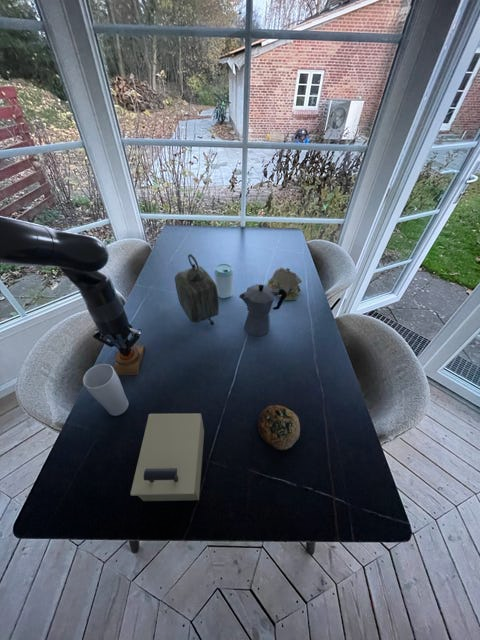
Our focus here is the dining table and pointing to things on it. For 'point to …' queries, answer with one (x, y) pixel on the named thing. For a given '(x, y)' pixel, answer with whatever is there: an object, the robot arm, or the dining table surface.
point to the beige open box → (197, 483)
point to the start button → (127, 356)
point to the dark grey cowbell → (197, 293)
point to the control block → (129, 361)
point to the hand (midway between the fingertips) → (126, 353)
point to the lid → (168, 455)
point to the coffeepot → (260, 307)
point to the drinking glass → (106, 388)
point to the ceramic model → (286, 283)
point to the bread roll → (279, 427)
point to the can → (223, 280)
